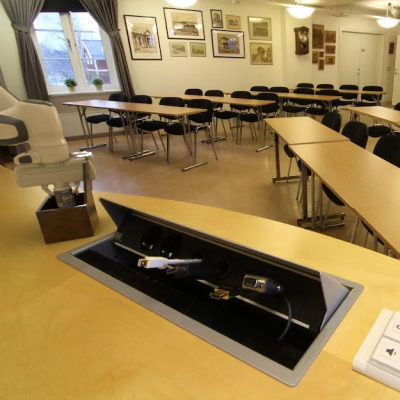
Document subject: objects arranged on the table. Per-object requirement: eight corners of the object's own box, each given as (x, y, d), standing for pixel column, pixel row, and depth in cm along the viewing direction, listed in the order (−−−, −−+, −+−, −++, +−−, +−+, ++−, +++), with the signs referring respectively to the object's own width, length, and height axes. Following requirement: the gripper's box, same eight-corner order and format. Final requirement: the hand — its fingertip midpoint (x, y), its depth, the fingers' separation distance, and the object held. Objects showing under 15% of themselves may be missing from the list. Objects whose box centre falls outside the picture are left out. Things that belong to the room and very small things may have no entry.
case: (45, 244, 99) (35, 212, 95) (55, 224, 112) (47, 195, 108) (94, 235, 105) (86, 205, 101) (98, 218, 118) (91, 190, 114)
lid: (82, 162, 97) (85, 162, 97) (88, 152, 110) (91, 152, 110) (84, 204, 101) (87, 204, 101) (89, 189, 113) (92, 189, 114)
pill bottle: (66, 208, 103) (59, 184, 100) (54, 207, 103) (46, 182, 100) (79, 203, 107) (73, 179, 104) (68, 202, 108) (61, 178, 105)
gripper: (93, 149, 106) (103, 188, 111) (13, 155, 97) (27, 197, 102) (91, 153, 101) (101, 194, 106) (6, 159, 92) (21, 204, 97)
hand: (64, 196), depth 104 cm, fingers closed on pill bottle, 5 cm apart
